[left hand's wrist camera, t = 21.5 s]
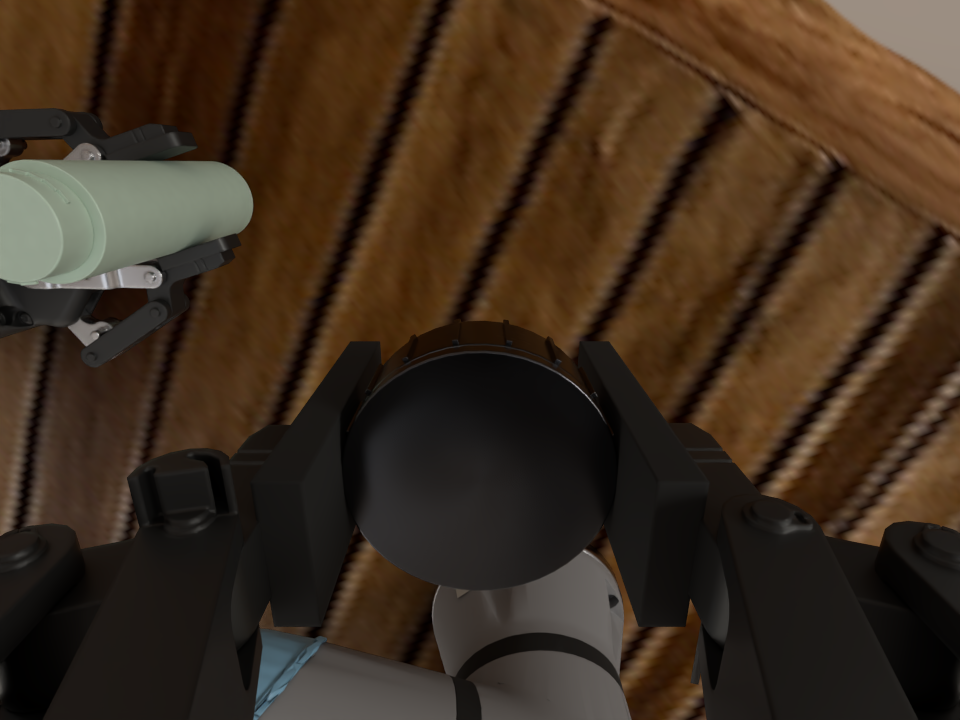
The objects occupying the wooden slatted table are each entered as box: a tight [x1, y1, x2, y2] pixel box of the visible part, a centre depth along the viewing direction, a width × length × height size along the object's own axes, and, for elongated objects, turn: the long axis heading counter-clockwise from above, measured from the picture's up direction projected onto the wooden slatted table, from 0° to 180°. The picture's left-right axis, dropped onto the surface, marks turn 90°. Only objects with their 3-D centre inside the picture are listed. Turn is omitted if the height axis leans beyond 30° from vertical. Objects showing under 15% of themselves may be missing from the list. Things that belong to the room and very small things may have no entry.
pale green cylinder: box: [0, 160, 253, 285], centre depth 26 cm, size 5×5×16 cm
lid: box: [342, 319, 618, 591], centre depth 11 cm, size 5×5×2 cm
